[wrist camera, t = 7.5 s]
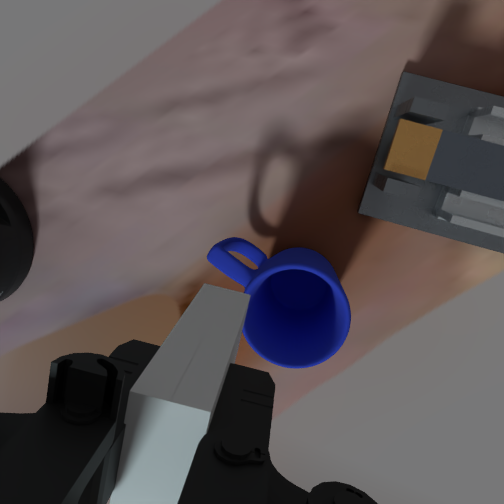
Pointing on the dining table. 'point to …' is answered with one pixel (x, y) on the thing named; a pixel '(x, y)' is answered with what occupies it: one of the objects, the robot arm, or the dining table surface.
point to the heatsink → (429, 193)
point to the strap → (447, 159)
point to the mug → (288, 302)
